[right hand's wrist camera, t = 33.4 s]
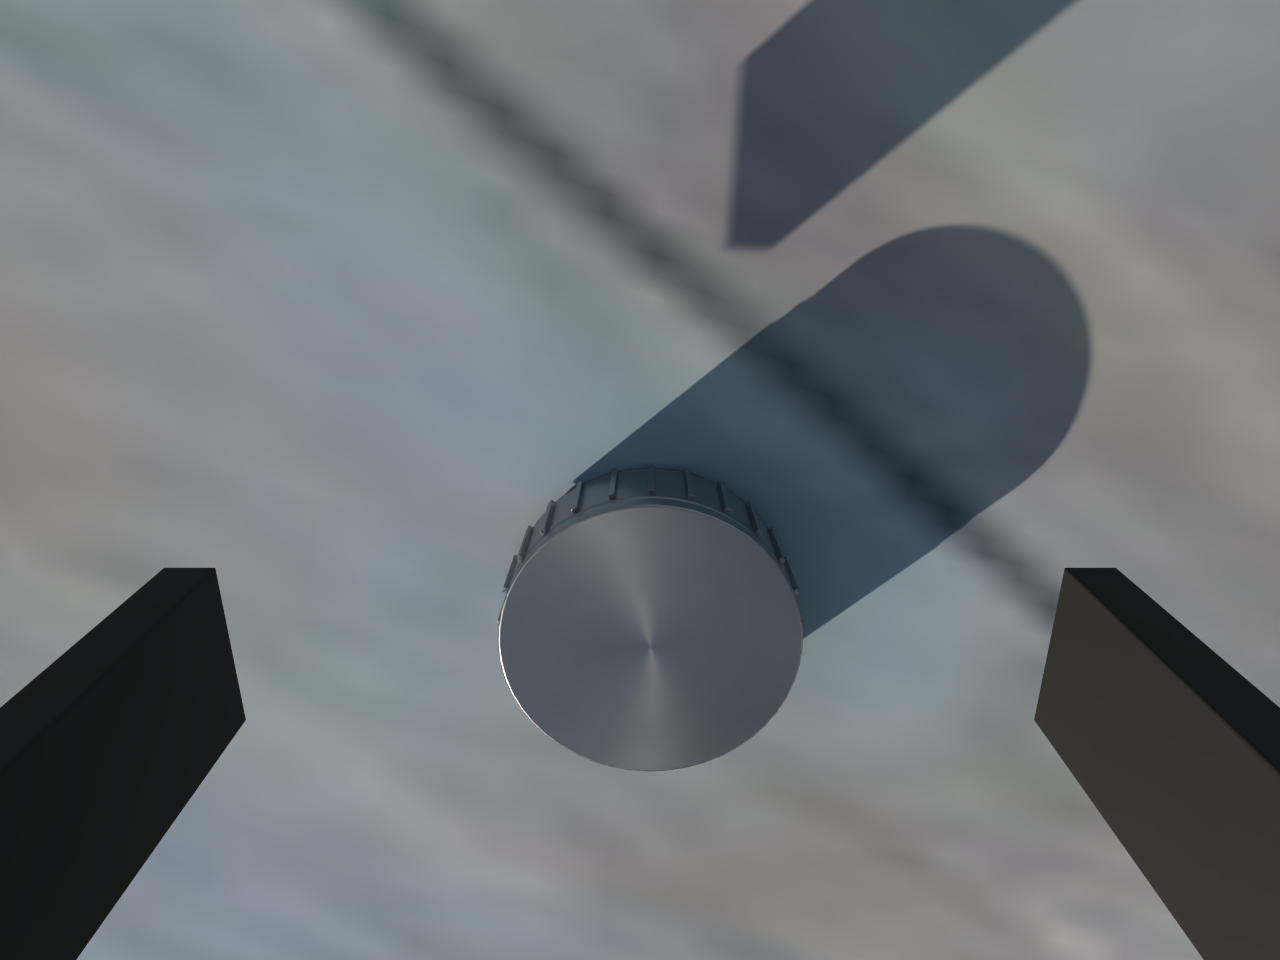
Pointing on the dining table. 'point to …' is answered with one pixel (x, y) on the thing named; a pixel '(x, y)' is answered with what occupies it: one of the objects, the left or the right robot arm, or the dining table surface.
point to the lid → (650, 621)
